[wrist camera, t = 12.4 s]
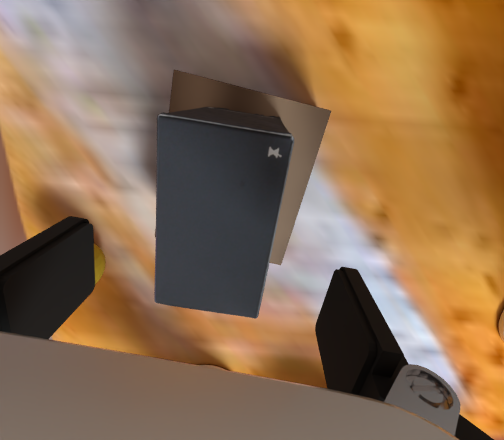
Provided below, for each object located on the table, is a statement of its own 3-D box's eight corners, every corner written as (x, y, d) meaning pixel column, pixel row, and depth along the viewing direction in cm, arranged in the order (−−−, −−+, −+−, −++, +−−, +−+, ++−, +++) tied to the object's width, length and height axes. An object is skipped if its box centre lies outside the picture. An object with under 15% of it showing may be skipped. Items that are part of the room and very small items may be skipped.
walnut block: (316, 108, 27) (331, 110, 21) (277, 237, 32) (280, 265, 27) (192, 76, 26) (173, 69, 21) (173, 213, 31) (154, 236, 26)
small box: (198, 103, 21) (148, 106, 12) (283, 116, 22) (303, 130, 12) (190, 228, 25) (147, 307, 16) (261, 239, 26) (262, 322, 16)
